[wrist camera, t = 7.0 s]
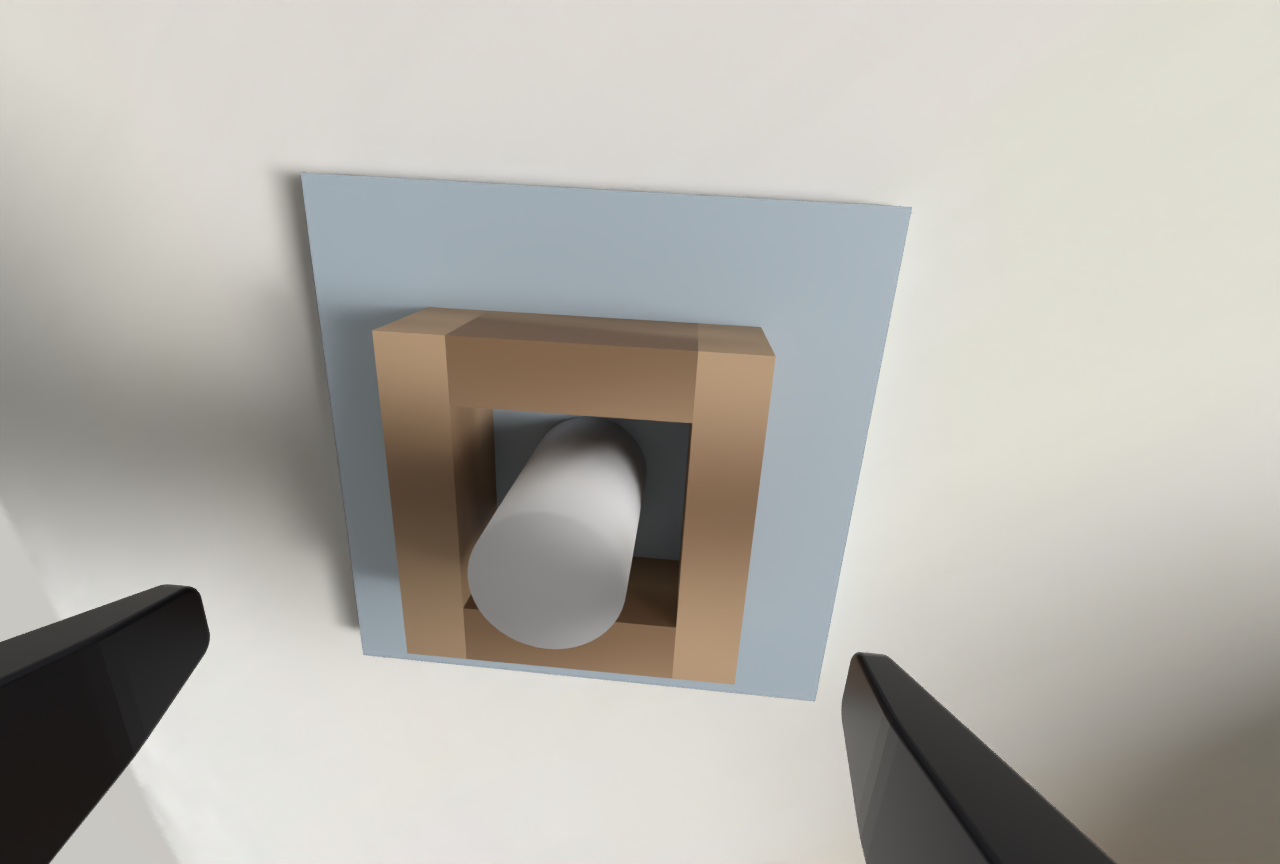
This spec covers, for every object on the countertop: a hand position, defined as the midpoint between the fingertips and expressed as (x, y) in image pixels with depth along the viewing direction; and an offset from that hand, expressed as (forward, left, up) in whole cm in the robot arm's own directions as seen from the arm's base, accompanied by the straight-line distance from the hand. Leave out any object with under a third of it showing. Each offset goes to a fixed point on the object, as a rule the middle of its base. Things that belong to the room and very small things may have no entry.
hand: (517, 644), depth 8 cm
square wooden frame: (0, 0, -6) cm, 6 cm away
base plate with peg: (0, 0, -7) cm, 7 cm away
